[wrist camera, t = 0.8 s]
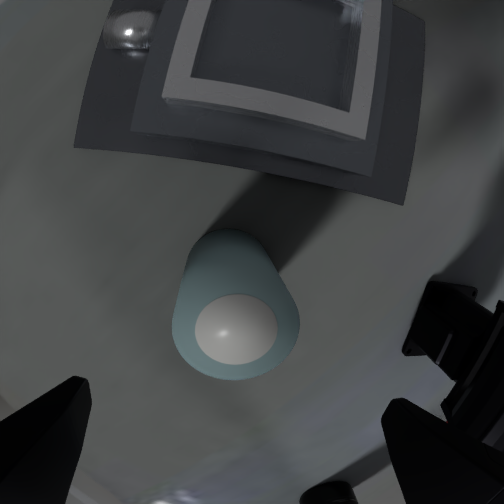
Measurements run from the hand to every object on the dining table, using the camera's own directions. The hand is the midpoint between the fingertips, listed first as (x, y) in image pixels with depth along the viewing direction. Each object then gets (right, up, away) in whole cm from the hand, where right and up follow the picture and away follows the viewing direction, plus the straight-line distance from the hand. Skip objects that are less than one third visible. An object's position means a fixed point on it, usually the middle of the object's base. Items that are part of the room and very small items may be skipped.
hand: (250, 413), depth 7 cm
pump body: (-1, +3, +11) cm, 11 cm away
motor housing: (+1, +16, +7) cm, 17 cm away
